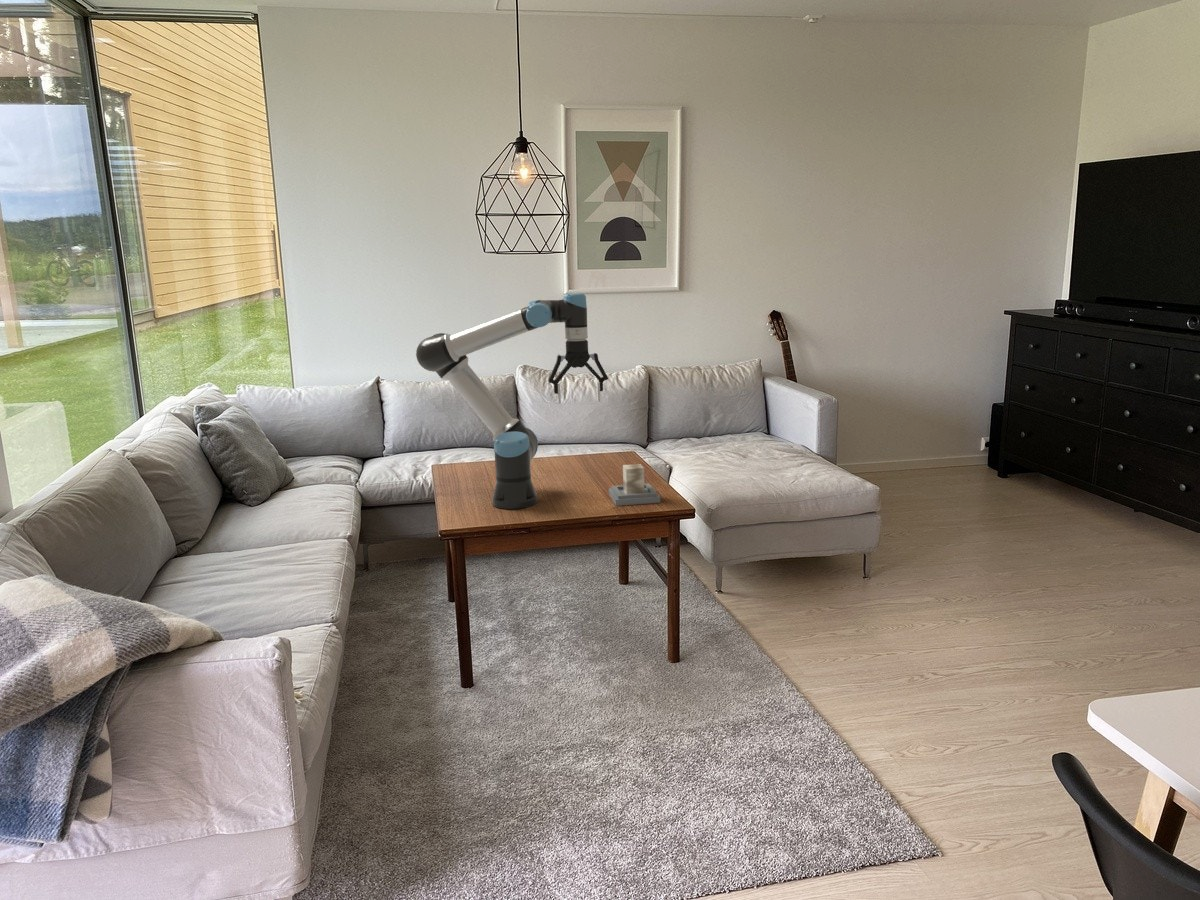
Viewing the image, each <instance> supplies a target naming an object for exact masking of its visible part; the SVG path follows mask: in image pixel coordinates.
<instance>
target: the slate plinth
mask: <svg viewBox="0 0 1200 900" xmlns="http://www.w3.org/2000/svg"><path fill="white" fill-rule="evenodd" d="M608 495H609V496H610V498H611V500H612V502H613V503H614V506H615V507H617V506H619V507H620V506H633V505H645V504H646V505H647V504H657V503H658V504H660V503H662V502H661V501H662V500H661V495H660V494H659V493H658V492H657V491H656V489H655V488H654V487H653V485H652V484H650V483H644V493H636V494H626V493H625V492H624V490H623V484H619V485H611V487H609V488H608Z"/></svg>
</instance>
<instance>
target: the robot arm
mask: <svg viewBox="0 0 1200 900" xmlns="http://www.w3.org/2000/svg"><path fill="white" fill-rule="evenodd" d="M552 323H553V324H555V323H564V333H565V339H566V341H565V355H561V354H557V355H556V362H555V363H554V366H553V367H552V370H551V373H550V376H549V377H548V382H549V384H553V392H554V394H555V395H557V404H558V405H560V404H562V403H561V402H562V401H561V384H560V381H561V380H562V379H563V377H564V376H565V375H566V374H567V372H568V371H569V370H570V369H571V368H573V369H576V368H584V367H586V368H587V370H589V372H590V373H591V374H592V375H593V376H594V377H595V378H596V379H597V380H598V381H596V383H595V384H596V401H597V402H601V392H603V391H604V381H608V379H609V377H608V375H607V373H606V371H605V369H604V368H603V365H602V364H601V361H600V360H599V354H598V353H596V352H594V353H589V341H588V340H587V339H588V337H589V336H588V334H589V333H588V305H587V296H586V295H585V294H584V293H581V292H579V293H577V292H575V293H573V292H572V293H564V295H563V298H562V299H559V300H558V299H556V300H555V299H554V300H553V299H549V300H548V299H546V300H545V299H544V300H543V299H542V300H541V299H538V300H531V301H529V302H528V304H527V306H526V307H523V308H521V309H518V310H515V311H512V312H509V313H507V314H504V315H502V316H499V317H495V318H493V319H491V320H488V321H485V322H483V323H481V324H477V325H475V326H472V327H470V328H467V329H464V330H462V331H459V332H456V333H454V334H449V333H445V332H441V333H436V334H433V335H431V336H429V337H426V338H424V339H423V340H421V341H420V342H419V343H418V346H417V347H416V350H415V351H416V353H415V357H416V360H417V362H418V364H419V365H420V366H421V367H422V368H423V369H424V370H426V371H429V372H433V373H435V372H436V374H437V375H438V376H439V378H440V379H441V380H445V381H449V383H450V384H451V385H452V386H453V388H454V389H455V390H456V391H457V392H458V394H459V395H460V396H461V397H462V398H463V399H464V401H465V402H466V403H467V404H468V405H469V407H470V408H471V410H473V412H474V413H475V414H476V415H477V416H478V418H479V419H480V420H481V421H482V423H483V424H484V425H485V426H486V427H487V429H488V430H490V432H491V433H492V441H493V450H494V451H493V452H494V463H495V464H494V465H495V478H496V479H495V480H496V481H495V485H494V489H493V490H494V491H493V494H492V498H491V502H492V505H493V506H494V507H495V508H498V509H502V510H503V509H505V510H519V509H524V508H529V507H532V506H534V505H536V504H537V503H538V494H537V491H536V489H535V486H534V483H533V481H532V474H531V460H532V459H533V458H534V457H535V456H536V454H537V452H538V446H539V441H538V437H537V436H536V434H535V432H534V431H533V430H532V429H530V428H528V427H526V426H525V425H524V424H523V423H522V421H521V420H520V419H519V418H513V417H511V416H512V415H510V414H509V412H508V411H507V410H506V409H505V408H504V407H503V405H502V404H501V403H500V401H499V400H498V399H497V398H496V397H495V396H494V395H493V393H492V392H491V391H490V389H489V388H488V387H487V386H486V385H485V384H484V382H483V381H482V379H480V377H479V376H478V375H477V374H476V373H475V371H474V370H473V369H472V368H471V366H470V365H469V357H468V356H467V355H469V354H472V353H474V352H476V351H480V350H482V349H485V348H487V347H490V346H491V347H492V346H493V345H496V344H498V343H501V342H503V341H506V340H509V339H511V338H512V339H513V338H514V337H517V336H519V335H522V334H525V333H527V332H530V331H534V330H536V329H538V328H543V327H545V326H547V325H549V324H552ZM590 358H591V360H592V361H594V363H595V364H596V366H597V368H598V370H599V372H600V375H601V376H600V375H599V374H598V372H596V371H595V369H594V368H593V367H592V366H591V364H589V363H588V361H589V360H590ZM564 360H565V361H566V362H567V363H566V364H565V366H564V367H563V368H562V370H561V371H560V372H559V374H557V372H558V370H559V367H560V365H561V363H562V362H563V361H564ZM556 374H557V376H556Z"/></svg>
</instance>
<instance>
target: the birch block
mask: <svg viewBox="0 0 1200 900" xmlns="http://www.w3.org/2000/svg"><path fill="white" fill-rule="evenodd" d="M622 483H623V484H622V485H623V490H624V492H625V493H626V494H636V493H644V484H645V467H644V466H643V465H642V464H641V463H634V464H623V465H622Z"/></svg>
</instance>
